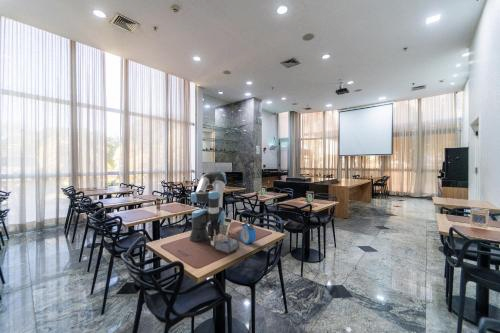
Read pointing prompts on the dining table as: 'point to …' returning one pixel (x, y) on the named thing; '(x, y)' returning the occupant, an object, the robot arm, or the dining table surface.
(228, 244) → the socket station
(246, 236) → the alarm clock
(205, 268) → the dining table surface
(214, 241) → the peg
